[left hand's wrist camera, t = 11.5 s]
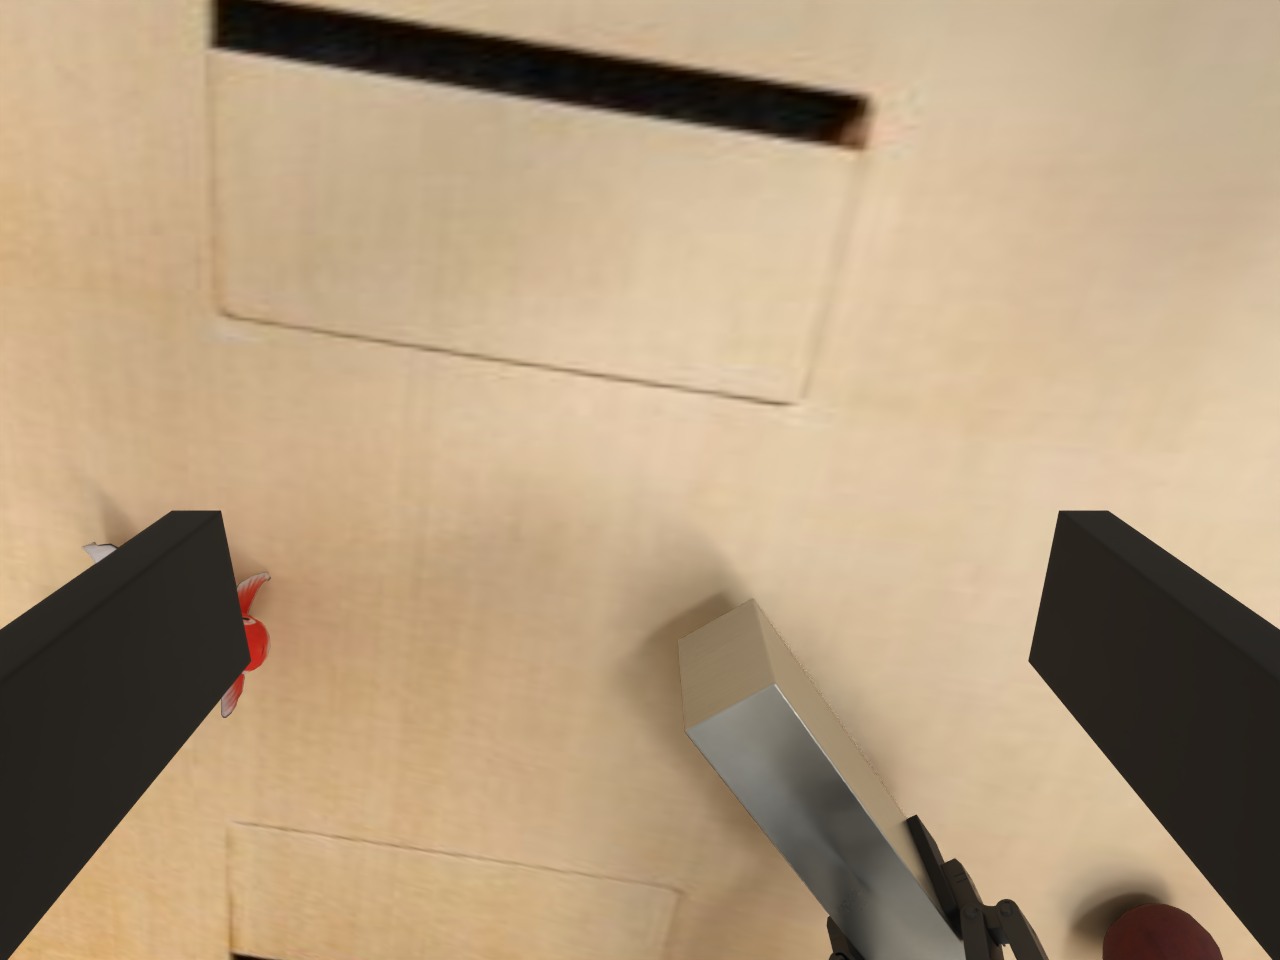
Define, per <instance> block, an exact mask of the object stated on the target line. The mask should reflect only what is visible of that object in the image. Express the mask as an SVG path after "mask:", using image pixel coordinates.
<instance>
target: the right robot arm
mask: <svg viewBox="0 0 1280 960" xmlns="http://www.w3.org/2000/svg"><path fill="white" fill-rule="evenodd" d="M906 821H907V823H908V826H909V828H910V831H911V833H912V836H913V838H914V840H915V843H916V845H917V848H918V850H919V853H920V855H921V858H922V860H923V862H924V865H925V867H926V870H927V872H928V875H929V877H930V879H931V882H932V884H933V887H934V889H935V892H936V894H937V897H938V899H939V901H940V904H941V906H942V909H943V911H944V912H945V914H946V915H947V916H948V918H949V919H950V921H951V922H952V923H953V925H954V926H955V928H956V929H957V930H958V932H959V933H960V935H961V936H962V937H963V943H964V950H965V957H966V960H1004V957H1003V951H1002V945H1003V946H1006V945H1005V944H1010V946H1011V948H1012V951H1013V953H1014V955H1015V957H1016V959H1017V960H1049V959H1048V957H1047V955H1046V953H1045V951H1044V949H1043V947H1042V945H1041V943H1040V941H1039V939H1038V937H1037V935H1036V933H1035V931H1034V930H1033V928H1032V927H1031V925H1030V924H1029V922H1028V921H1027V919H1026V918H1025V916H1024V915H1023V913H1022V912H1021V910H1020V909H1019V907H1018V906H1017V904H1016V903H1015V902H1014V901H1012V900H1009V899H1004V900H1001V901H999V902H998V903H997V905H996V906H986V905H984V904H983V902H982V900H981V898H980V896H979V894H978V891H977V889H976V887H975V885H974V883H973V881H972V879H971V877H970V876H969V874H968V873H967V871H966V870H965V868H964V867H963V866H962V864H961V863H960V862H959V861H958V860H956V859H952V860H950V861H948V862H946V863H945V862H944V860H943V858H942V856H941V853H940V851H939V849H938V847H937V844H936V842H935V841H934V839H933V838H932V836H931V835H930V833H929V832H928V830H927V829H926V828H925V826H924V825H923V823H922V822H921V820H920V819H919V817H918V816H917V815H914V816H912V817H910V818H908V819H906ZM827 929H828V933H829V937H830V940H831V945H832V949H833V953H832V954H831V956H830V958H829V960H864V958H863V957H862V956H861V955H860V953H859V952H858V951H857V949H856V948H855V947H854V946H853V944H852V943H851V942H850V941H849V939H848V938H847V937H846V936H845V934H844V933H843V932H842V930H841V929H840V928H839V927H838V925H837V924H836V923H835V922H834V920H833V919H832V918H831V917H830V916H829V917H828V919H827ZM1001 944H1002V945H1001Z"/></svg>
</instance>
